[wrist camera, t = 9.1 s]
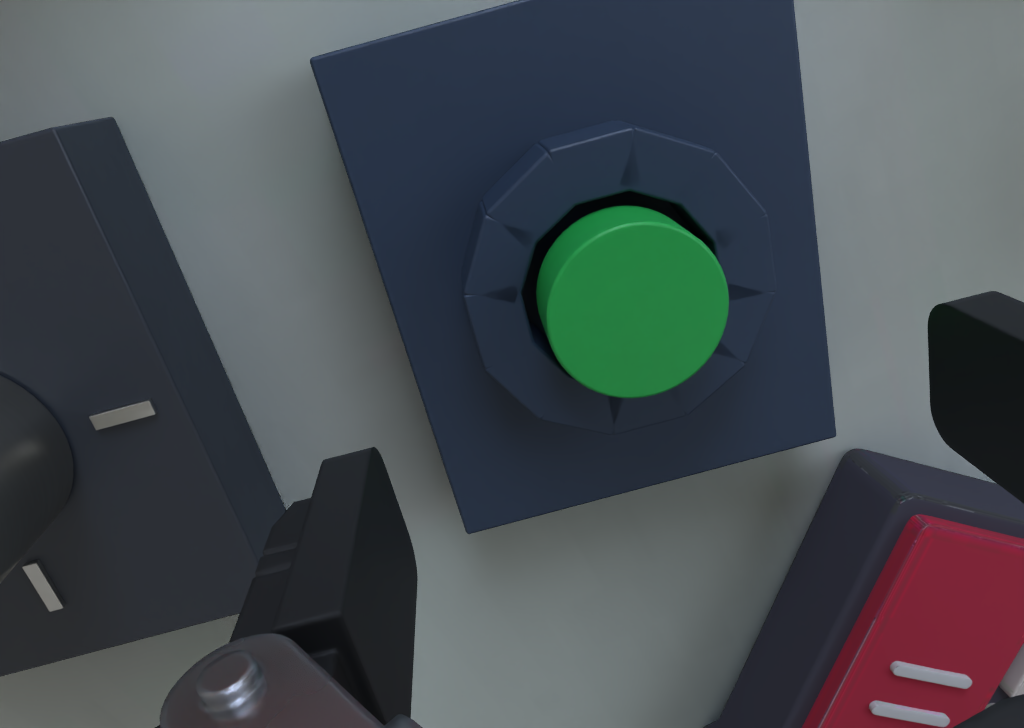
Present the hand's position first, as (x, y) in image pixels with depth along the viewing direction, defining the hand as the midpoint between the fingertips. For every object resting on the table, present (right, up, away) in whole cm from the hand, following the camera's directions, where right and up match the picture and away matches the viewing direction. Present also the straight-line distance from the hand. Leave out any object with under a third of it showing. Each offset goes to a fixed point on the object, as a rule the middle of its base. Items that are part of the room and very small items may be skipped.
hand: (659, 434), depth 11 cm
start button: (0, +3, +5) cm, 6 cm away
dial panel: (-15, 0, +9) cm, 17 cm away
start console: (0, +4, +9) cm, 10 cm away
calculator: (+11, -9, +15) cm, 21 cm away
